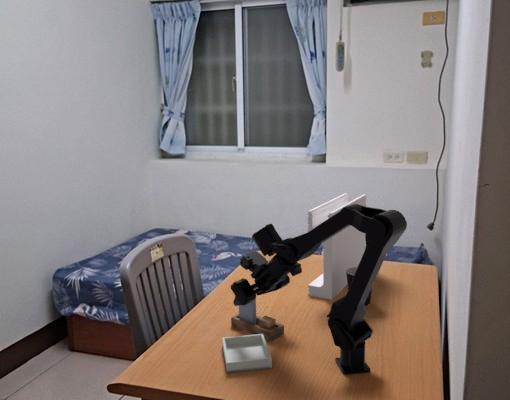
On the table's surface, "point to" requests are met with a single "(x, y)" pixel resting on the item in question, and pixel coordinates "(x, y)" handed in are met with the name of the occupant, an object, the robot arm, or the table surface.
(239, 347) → the tray
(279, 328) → the rack
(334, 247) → the white piece
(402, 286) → the table surface
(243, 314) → the pale blue tall block
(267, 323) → the offcut
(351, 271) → the coffee mug
